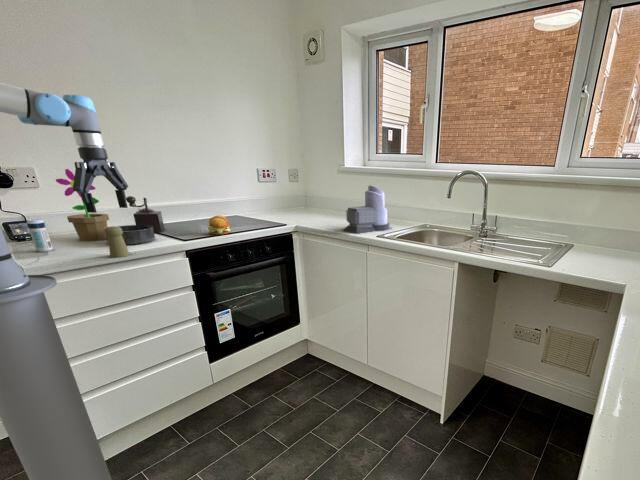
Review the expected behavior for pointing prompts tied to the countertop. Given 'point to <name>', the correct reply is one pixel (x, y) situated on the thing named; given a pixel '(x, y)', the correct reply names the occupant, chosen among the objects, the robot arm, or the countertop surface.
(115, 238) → the cork
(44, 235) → the white cylindrical container
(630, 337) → the countertop surface
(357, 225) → the juicer
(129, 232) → the dark grey shallow bowl
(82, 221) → the flowerpot
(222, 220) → the cheeseburger
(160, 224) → the brown coffee grinder
